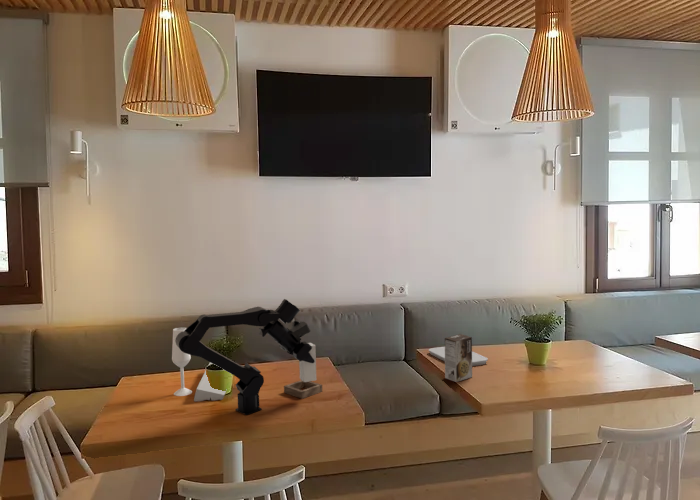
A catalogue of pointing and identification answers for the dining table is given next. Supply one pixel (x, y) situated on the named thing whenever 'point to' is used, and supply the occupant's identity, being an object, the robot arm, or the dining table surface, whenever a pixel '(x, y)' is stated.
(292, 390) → the rectangular frame
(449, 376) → the coffee box
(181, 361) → the champagne flute
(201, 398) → the decorative molding
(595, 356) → the dining table surface
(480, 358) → the tablet
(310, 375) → the clay block
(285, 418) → the dining table surface
